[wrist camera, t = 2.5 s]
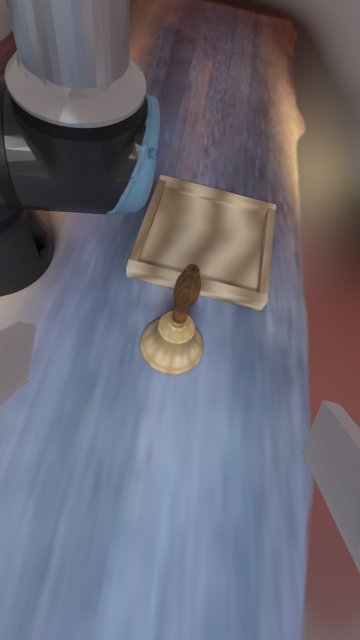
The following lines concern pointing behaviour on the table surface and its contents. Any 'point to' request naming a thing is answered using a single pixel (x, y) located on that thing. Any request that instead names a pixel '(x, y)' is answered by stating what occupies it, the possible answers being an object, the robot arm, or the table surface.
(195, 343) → the hand bell
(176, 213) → the tray
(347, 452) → the robot arm
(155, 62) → the table surface
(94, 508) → the table surface
